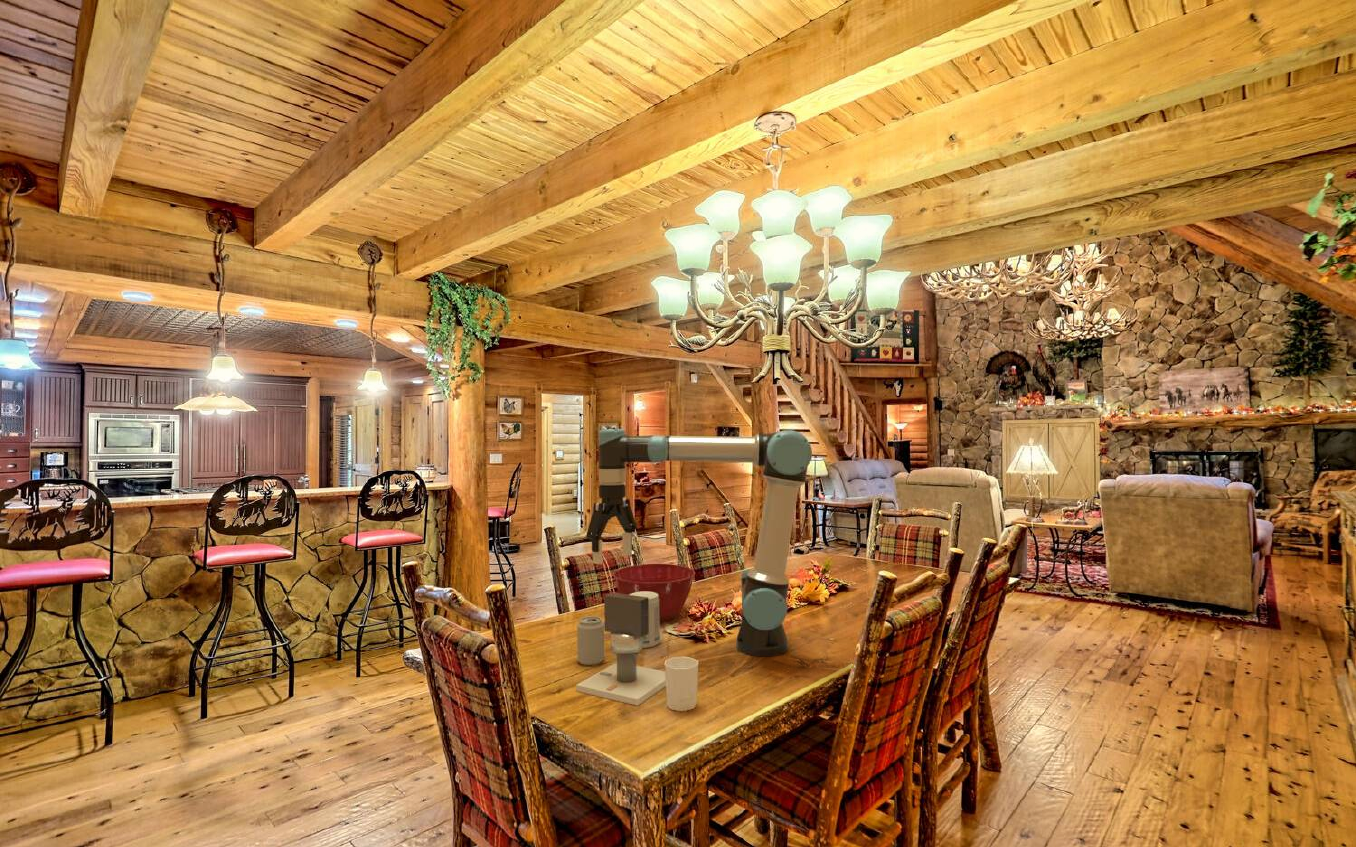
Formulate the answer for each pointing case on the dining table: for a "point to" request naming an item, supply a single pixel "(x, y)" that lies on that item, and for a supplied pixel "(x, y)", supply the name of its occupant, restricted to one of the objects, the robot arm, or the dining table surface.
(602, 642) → the can
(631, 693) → the post base
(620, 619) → the coupling
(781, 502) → the robot arm
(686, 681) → the white cup
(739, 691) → the dining table surface
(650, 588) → the mixing bowl
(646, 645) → the supplement tub
